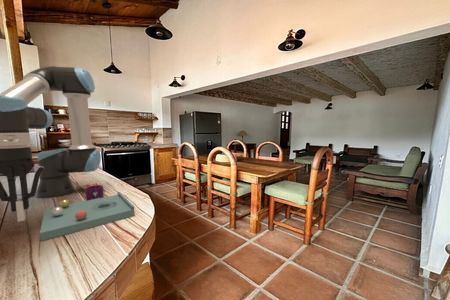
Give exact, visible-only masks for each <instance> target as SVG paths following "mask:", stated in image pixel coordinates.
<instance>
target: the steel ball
mask: <svg viewBox="0 0 450 300" xmlns="http://www.w3.org/2000/svg"><path fill="white" fill-rule="evenodd" d="M55 207H56V208H54V209H53V210H52V215H53V216H60V215H62V214H63V212H64V210H63V208H62V207H57V206H55Z"/></svg>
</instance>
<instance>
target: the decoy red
mask: <svg viewBox="0 0 450 300" xmlns="http://www.w3.org/2000/svg"><path fill="white" fill-rule="evenodd" d="M86 216H87V212H86V211H85V210H79V211H78V212H77V213H76V214H75V218H76V219H78V220H82V219H84V218H85V217H86Z"/></svg>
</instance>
